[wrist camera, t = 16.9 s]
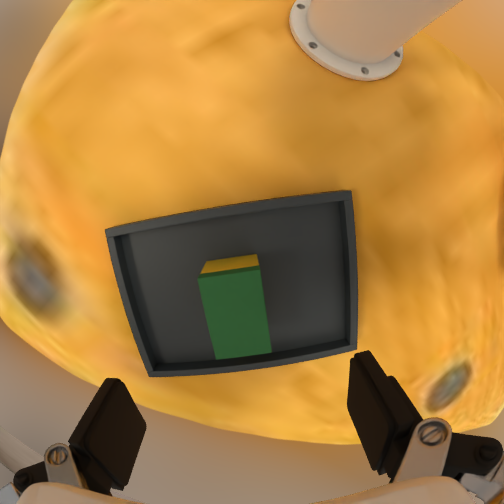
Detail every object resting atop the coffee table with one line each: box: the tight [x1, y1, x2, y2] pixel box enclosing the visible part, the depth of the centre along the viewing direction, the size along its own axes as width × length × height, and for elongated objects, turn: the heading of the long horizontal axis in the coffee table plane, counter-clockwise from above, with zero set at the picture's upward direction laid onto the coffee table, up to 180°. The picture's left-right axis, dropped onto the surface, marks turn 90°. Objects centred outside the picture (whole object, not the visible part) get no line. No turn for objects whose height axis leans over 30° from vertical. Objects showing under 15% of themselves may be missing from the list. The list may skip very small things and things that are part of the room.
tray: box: [105, 190, 358, 377], centre depth 24 cm, size 16×22×2 cm
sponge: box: [198, 254, 272, 359], centre depth 22 cm, size 7×4×5 cm, turn 8°
